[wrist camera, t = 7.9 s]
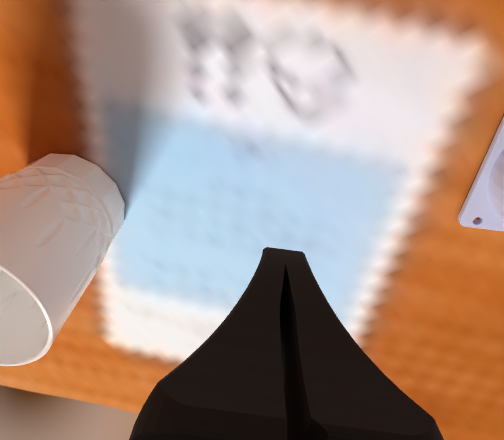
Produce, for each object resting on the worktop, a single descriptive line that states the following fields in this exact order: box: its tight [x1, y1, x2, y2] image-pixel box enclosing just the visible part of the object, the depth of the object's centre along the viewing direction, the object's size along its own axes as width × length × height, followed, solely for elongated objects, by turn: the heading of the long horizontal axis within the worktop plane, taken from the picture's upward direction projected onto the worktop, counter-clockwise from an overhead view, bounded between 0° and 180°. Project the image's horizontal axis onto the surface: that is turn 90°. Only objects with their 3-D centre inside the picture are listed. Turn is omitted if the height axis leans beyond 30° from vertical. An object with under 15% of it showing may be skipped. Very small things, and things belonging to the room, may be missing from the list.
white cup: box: [0, 153, 125, 366], centre depth 21 cm, size 8×8×10 cm
